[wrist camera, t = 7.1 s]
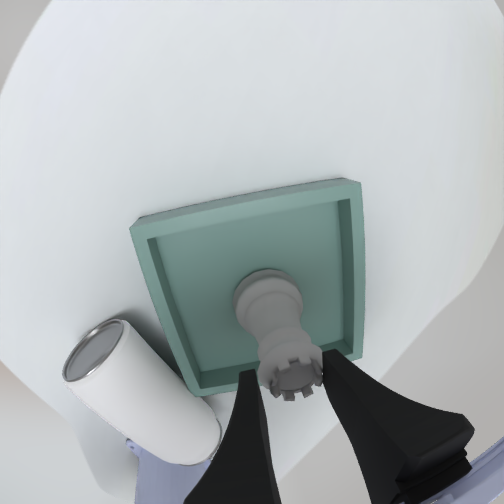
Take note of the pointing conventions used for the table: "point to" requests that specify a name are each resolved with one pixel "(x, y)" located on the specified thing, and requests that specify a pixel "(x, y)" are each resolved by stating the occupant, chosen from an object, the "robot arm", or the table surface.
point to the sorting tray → (246, 263)
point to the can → (141, 395)
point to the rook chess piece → (278, 333)
